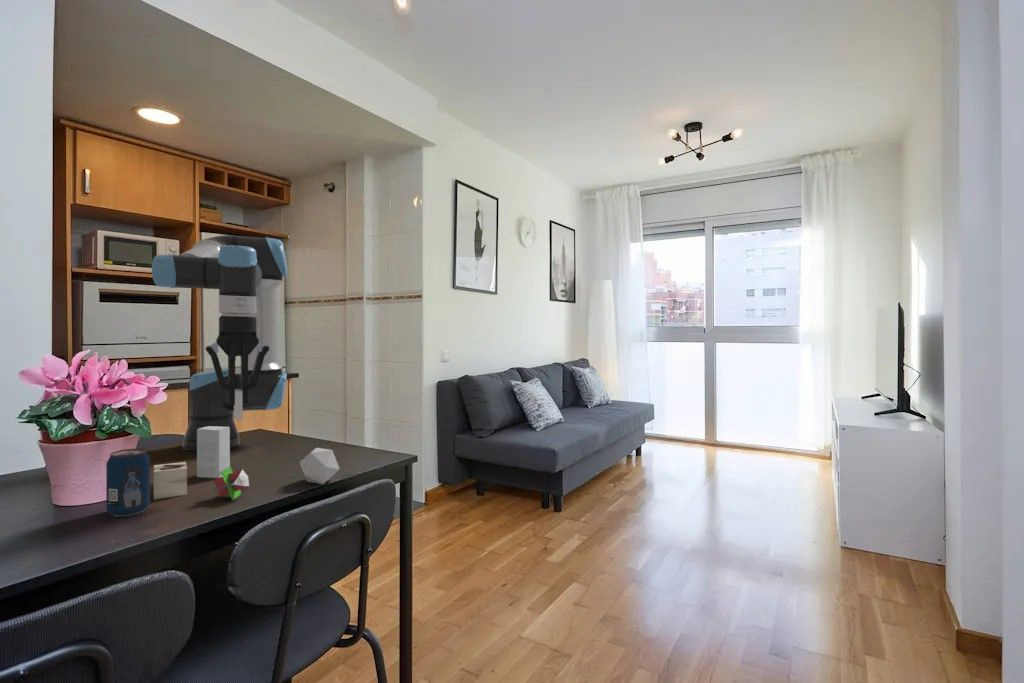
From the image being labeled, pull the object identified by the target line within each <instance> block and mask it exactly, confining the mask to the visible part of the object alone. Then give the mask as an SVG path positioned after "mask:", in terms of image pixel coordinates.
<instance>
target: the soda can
mask: <svg viewBox="0 0 1024 683" xmlns="http://www.w3.org/2000/svg"><path fill="white" fill-rule="evenodd" d="M150 464H151V460H150V456H149V454H148V453H147V449H145V448H128V449H120V450H116V451H112V452H111V453H110V455H109V458H108V459H107V461H106V465H105V466H106V469H105V470H106V472H105V474H106V479H105V480H106V482H105V483H106V484H105V485H106V511H107V512H108V513H109V514H110V515H111V516H113V517H118V518H120V517H129V516H130V517H131V516H135V515H138V514H140V513H143V512H144V511H146V509H147V508H148V506H149V505H150V503H151V472H150V471H151V465H150Z"/></svg>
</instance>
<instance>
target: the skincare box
mask: <svg viewBox="0 0 1024 683" xmlns="http://www.w3.org/2000/svg"><path fill="white" fill-rule="evenodd" d="M230 466H231V448H230V427H218V426H207V427H203V428H199V429H197V451H196V477H197V478H205V479H206V478H207V479H215V478H216V479H217V478H220V477H223V476H222V474H221V471H223V470H225V469H227V468H229V467H230ZM218 474H219V475H218ZM220 474H221V475H220ZM217 475H218V476H217Z"/></svg>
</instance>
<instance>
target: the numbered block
mask: <svg viewBox="0 0 1024 683" xmlns="http://www.w3.org/2000/svg"><path fill="white" fill-rule="evenodd" d="M186 495H188V467H187V461H182V462H173V463H163V464H155V465H153V500H160V499H165V498H172V497H173V498H174V497H179V496H180V497H181V496H186Z"/></svg>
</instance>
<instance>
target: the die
mask: <svg viewBox="0 0 1024 683" xmlns="http://www.w3.org/2000/svg"><path fill="white" fill-rule="evenodd" d="M299 464H300V465H299V466H300V467H301V470H302V472H303V474H304V478H305V481H306V482H308V483H313V484H317V483H318V484H317V485H325V484H326V483H327V481H329V480H330V479H331V478H332V477H333V476H334V475H335V474H336V473H338V471H339V470H340V469H341V468H340V466H339V463H338V461H337V459H336V456H335V453H334V450H332V449H327V448H321V447H316V448H314V449H313V450H311V452H309V453H308V454H307V455H306V456H305V457H303V459H301V460H300V461H299Z"/></svg>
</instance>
